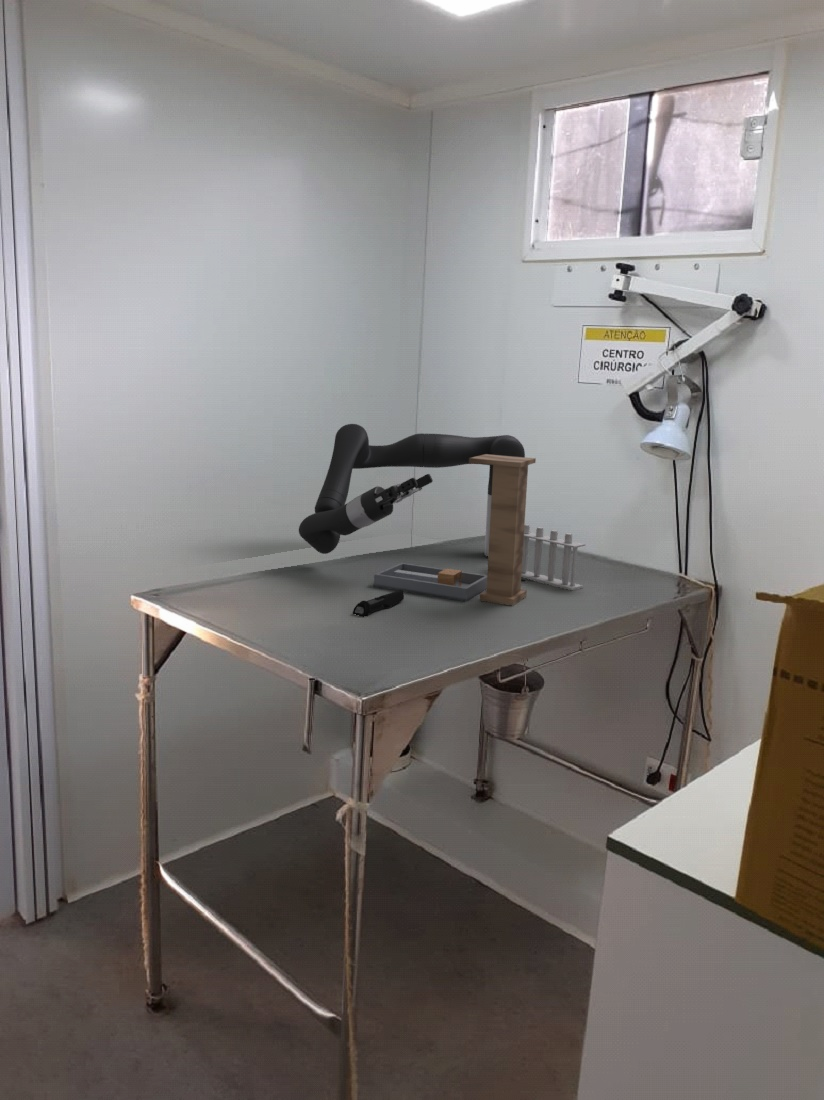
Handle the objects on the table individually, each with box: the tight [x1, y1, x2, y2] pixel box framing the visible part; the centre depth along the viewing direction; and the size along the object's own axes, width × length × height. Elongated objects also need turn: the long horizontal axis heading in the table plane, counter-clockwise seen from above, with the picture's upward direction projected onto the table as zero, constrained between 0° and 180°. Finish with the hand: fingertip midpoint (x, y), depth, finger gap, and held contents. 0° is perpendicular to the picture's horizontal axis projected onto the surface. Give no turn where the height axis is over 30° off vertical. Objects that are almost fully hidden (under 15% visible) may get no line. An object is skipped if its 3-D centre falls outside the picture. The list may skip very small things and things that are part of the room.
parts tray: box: [373, 562, 487, 602], centre depth 205 cm, size 14×24×3 cm, turn 64°
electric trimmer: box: [352, 590, 405, 618], centre depth 187 cm, size 4×16×3 cm, turn 145°
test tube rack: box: [521, 523, 586, 591], centre depth 215 cm, size 25×4×13 cm, turn 42°
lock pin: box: [394, 568, 463, 587], centre depth 205 cm, size 5×16×4 cm, turn 65°
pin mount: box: [469, 454, 536, 606], centre depth 195 cm, size 10×12×32 cm
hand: (423, 479), depth 201 cm, fingers open, 7 cm apart
